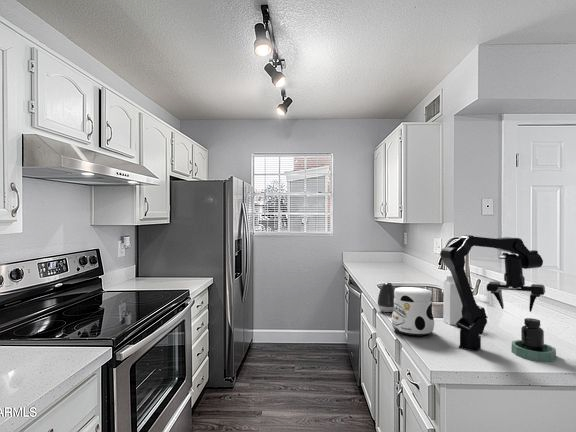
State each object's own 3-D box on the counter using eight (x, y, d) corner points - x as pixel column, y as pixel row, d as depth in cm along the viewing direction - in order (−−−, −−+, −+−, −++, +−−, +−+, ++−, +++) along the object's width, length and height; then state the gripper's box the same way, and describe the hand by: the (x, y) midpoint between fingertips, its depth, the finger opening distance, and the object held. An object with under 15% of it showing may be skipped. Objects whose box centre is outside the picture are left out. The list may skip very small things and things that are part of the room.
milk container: (384, 332, 157) (384, 290, 157) (402, 324, 169) (402, 285, 170) (424, 341, 145) (424, 296, 145) (440, 332, 158) (440, 290, 158)
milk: (462, 324, 169) (462, 277, 169) (449, 325, 169) (450, 277, 169) (454, 321, 176) (455, 275, 176) (442, 321, 175) (443, 275, 175)
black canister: (400, 310, 194) (400, 282, 194) (394, 315, 185) (394, 285, 185) (381, 308, 199) (381, 280, 200) (374, 312, 191) (375, 283, 191)
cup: (510, 355, 131) (510, 347, 131) (513, 345, 142) (513, 337, 142) (556, 364, 123) (556, 355, 123) (555, 353, 134) (555, 344, 134)
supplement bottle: (531, 348, 137) (531, 316, 137) (548, 355, 130) (548, 321, 130) (516, 350, 135) (516, 317, 135) (533, 357, 129) (533, 322, 129)
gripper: (545, 267, 142) (547, 307, 142) (491, 265, 154) (493, 302, 154) (542, 272, 133) (545, 315, 133) (485, 270, 145) (487, 309, 145)
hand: (516, 310), depth 142 cm, fingers open, 9 cm apart
